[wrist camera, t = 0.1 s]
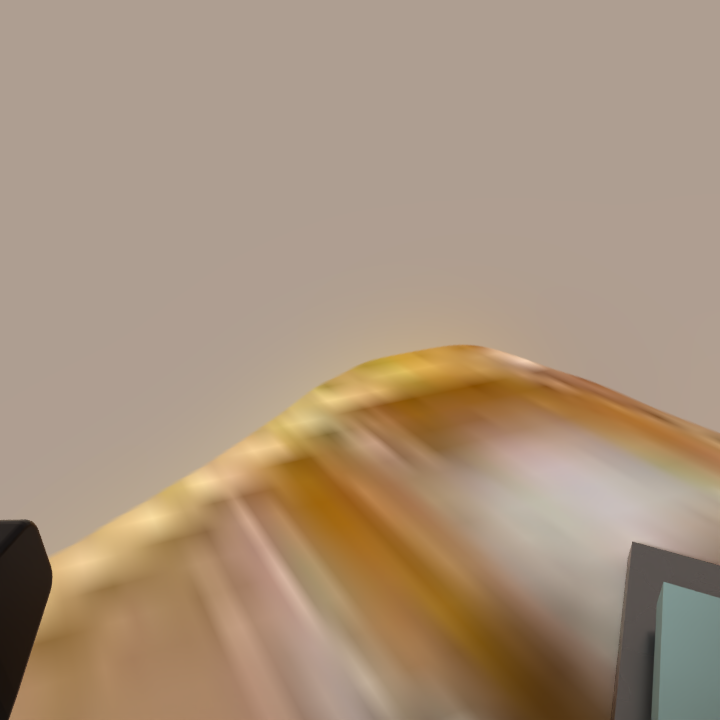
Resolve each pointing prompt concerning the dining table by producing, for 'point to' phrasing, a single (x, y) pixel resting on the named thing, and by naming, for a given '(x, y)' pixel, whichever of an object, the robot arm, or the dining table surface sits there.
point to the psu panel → (650, 621)
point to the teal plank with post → (686, 656)
